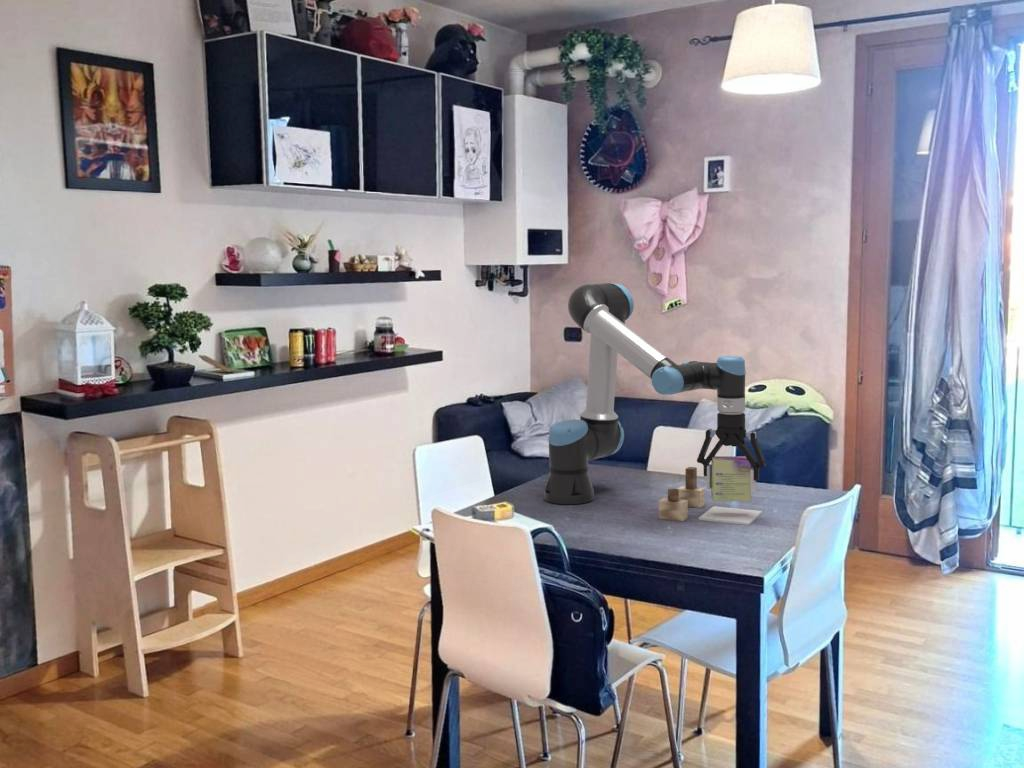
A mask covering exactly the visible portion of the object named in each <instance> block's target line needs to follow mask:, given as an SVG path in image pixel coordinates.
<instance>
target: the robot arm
mask: <svg viewBox="0 0 1024 768" xmlns="http://www.w3.org/2000/svg"><path fill="white" fill-rule="evenodd" d="M634 304H635V303H634V299H633V295H632V293H631V292H630V290H628V289H627V287H626V286H624V285H623V284H620V283H612V282H606V283H594V284H591V283H589V284H583V285H581V286H579V287H576V288H575V289H574V290H573V292H571V294H570V296H569V299H568V303H567V306H568V307H567V310H568V313H569V316H570V318H571V319H572V321H574V323H575V324H576V325H577V326H578V327H579V328H581V329H582V330H583V331H584V332H586V333H587V334H590V341H589V355H588V356H589V359H588V370H587V371H588V372H587V373H588V374H587V389H586V401H585V402H586V403H585V409H584V410H583V411H582V412H581V413H580V418H579V419H576V418H575V419H568V420H566V419H565V420H561V421H557V422H555V423H553V424H552V425H551V426H550V427H549V430H548V431H549V432H548V438H547V440H548V461H549V463H548V465H549V466H548V467H549V475H548V478H547V482H546V484H545V488H544V491H543V492H544V493H543V498H544V501H545V502H548V503H551V504H556V505H579V504H586V503H590V502H593V500H594V499H595V490H594V488H593V484H592V481H591V478H590V474H589V461H593V460H597V459H600V458H607V457H609V456H611V455H614V454H616V453H617V452H618V451H620V449H621V447H622V445H624V440H625V432H624V428H623V427H622V423H621V422H620V421H619V415H618V414H617V413H616V412H615V409H614V408H615V398H616V397H615V394H616V383H617V380H616V379H617V369H618V368H617V367H618V355H620V356H621V357H623V358H624V359H626V360H627V362H628V363H630V364H632V366H634V367H635V368H637V369H638V370H639V371H640V372H641V373H643V374H644V375H646V376H647V377H648V378H649V379H650V380H651V386H652V387H653V389H654V391H655V392H656V393H658V394H660V395H665V396H666V395H668V396H669V395H677V394H680V393H684V392H691V391H695V390H714V391H715V390H716V396H717V397H716V402H717V405H716V406H717V407H716V410H717V411H718V413H717V415H716V419H717V421H716V423H717V425H716V426H717V427H716V429H712V428H709V429H706V430H705V438H704V441H703V444H702V446H701V449H700V451H699V453H698V456H697V459H696V462H697V463H698V464H701V465H702V466H703V477H706V489H707V490H711V464H710V463H712V457H714V456H716V455H717V454H718V452H719V451H720V450H721V448H722V447H723V446H724V447H729V446H731V447H738V448H739V450H740V451H741V452H742V453H743V455H744V456H746V458H747V459H748V461H749V462H750V464H751V469H750V493H751V494H754V493H755V492H756V491H757V490H756V486H757V484H756V482H757V481H759V480H760V469H761V468H762V469H763V468H764V467H766V466H767V462H766V459H765V457H764V454H763V451H762V449H761V446H760V442H759V441H758V433H757V431H747V430H746V414H745V412H746V374H747V371H746V361H745V358H744V357H743V356H740V355H739V356H738V355H721V356H718V357H717V360H716V362H710V361H709V362H707V361H697V360H693V361H692V360H690V361H689V360H686V361H683V362H682V363H681V364H677V363H675V362H674V361H673V360H671V358H669V357H667V356H666V355H665V354H664V353H663V352H661V351H660V350H658V349H657V348H656V347H654V346H653V345H652V344H651V343H650V342H649V341H647V340H646V339H644V338H643V337H642V336H640V335H639V334H638V333H636V332H635V331H634V330H633V329H631V328H630V327H629V326H627V324H626V321H627V320H628V319H629V318H630V317H631V316H632V314H633V313H634ZM715 435H716V436H717V439H718V441H717V442H716V444H715V446H714V447H713V449H712V450H711V452H710V453H708V455H707V452H708V449H709V447H710V444H711V442H712V439H713V438H714V437H715ZM746 437H747V438H748V440H749V441H750V443H751V446H752V450H753V452H754V454H755V456H754V454H753V453H752V451H751V450H750V448H749V447H748V445H747V443H746V442H745V438H746ZM706 455H707V457H706ZM705 457H706V458H705Z"/></svg>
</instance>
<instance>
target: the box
mask: <svg viewBox="0 0 1024 768" xmlns="http://www.w3.org/2000/svg"><path fill="white" fill-rule="evenodd" d="M710 463H711V489H710V490H711V491H710V492H711V499H712V501H713V502H748V503H749V502H752V493H750V469H752V465H751V464H750V462H749V461H748V459H747V458H746V456H745V455H744V456H742V455H741V456H739V455H738V456H726V455H725V456H719V455H717V456H716V455H715V456H714V457H712V460H711V462H710Z"/></svg>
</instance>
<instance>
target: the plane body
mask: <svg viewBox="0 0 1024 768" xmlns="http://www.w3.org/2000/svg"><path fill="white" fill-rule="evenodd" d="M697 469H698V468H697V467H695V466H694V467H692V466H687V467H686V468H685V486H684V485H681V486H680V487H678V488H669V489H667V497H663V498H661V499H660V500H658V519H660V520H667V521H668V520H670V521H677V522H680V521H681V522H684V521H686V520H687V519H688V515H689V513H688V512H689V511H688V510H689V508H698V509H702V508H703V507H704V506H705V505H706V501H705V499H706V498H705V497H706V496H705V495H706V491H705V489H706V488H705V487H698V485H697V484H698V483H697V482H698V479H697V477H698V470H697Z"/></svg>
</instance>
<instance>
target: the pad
mask: <svg viewBox="0 0 1024 768" xmlns="http://www.w3.org/2000/svg"><path fill="white" fill-rule="evenodd" d="M762 514H763V511H762V510H755V509H754V510H753V509H745V508H736V507H735V508H733V507H726V506H715V505H714V506H712V507H711V508H709V509H708V510H707V511H705V513H703V514H701V515H700V516H699V517H698V521H704V522H714V523H724V524H730V525H731V524H733V525H742V526H750V525H751V524H753V523H754V521H755V520H756V519H758V518H759V517H760V516H761V515H762Z"/></svg>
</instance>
